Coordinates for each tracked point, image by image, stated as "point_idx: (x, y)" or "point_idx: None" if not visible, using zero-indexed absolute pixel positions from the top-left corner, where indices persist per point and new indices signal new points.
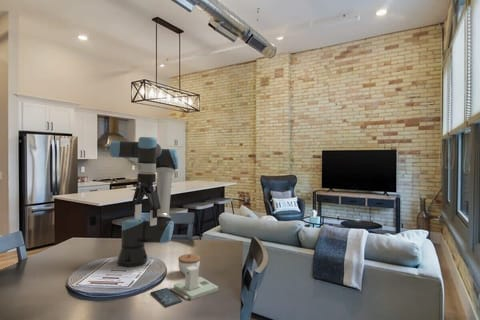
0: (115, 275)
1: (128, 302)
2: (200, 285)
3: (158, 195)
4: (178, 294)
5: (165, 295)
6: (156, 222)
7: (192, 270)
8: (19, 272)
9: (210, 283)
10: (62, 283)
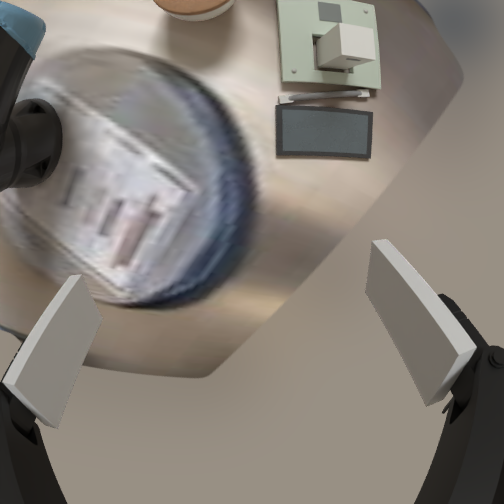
0: (101, 204)
1: (287, 220)
2: None
3: None
4: (333, 97)
5: (323, 131)
6: (398, 254)
7: (374, 53)
8: None
9: (342, 3)
10: (109, 310)
